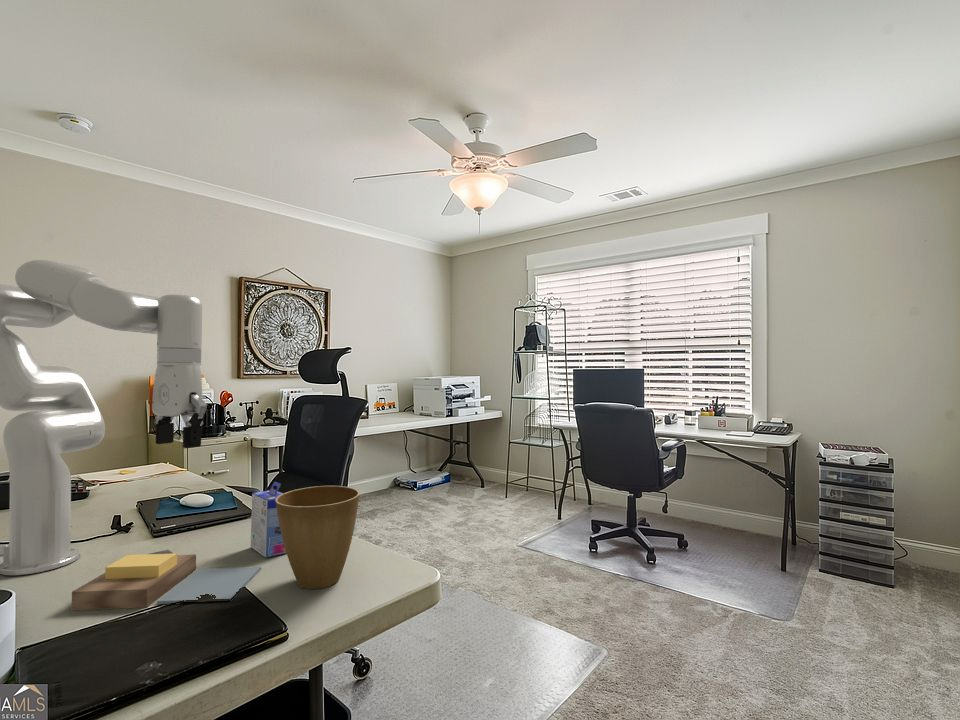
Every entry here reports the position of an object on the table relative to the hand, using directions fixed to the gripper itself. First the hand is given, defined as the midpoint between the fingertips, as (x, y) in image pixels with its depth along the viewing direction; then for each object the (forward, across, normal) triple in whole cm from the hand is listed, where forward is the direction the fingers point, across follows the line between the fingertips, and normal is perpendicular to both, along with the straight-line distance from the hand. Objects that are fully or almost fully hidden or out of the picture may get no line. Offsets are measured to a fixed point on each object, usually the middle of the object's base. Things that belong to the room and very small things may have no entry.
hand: (177, 445), depth 98 cm
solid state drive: (+26, -10, +2) cm, 28 cm away
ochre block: (+22, +2, -7) cm, 23 cm away
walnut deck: (+25, +2, -7) cm, 26 cm away
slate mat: (+25, +12, 0) cm, 27 cm away
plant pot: (+24, +28, +11) cm, 39 cm away
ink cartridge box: (+25, +5, +17) cm, 31 cm away
